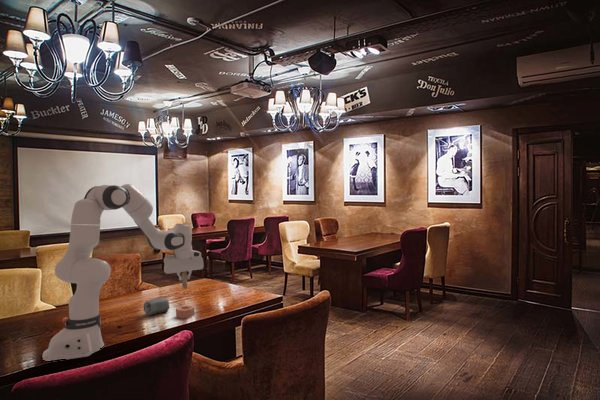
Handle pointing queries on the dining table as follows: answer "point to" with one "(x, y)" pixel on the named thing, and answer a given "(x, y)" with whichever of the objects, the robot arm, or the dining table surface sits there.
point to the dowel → (184, 280)
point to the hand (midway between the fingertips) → (184, 279)
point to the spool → (156, 306)
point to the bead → (185, 311)
